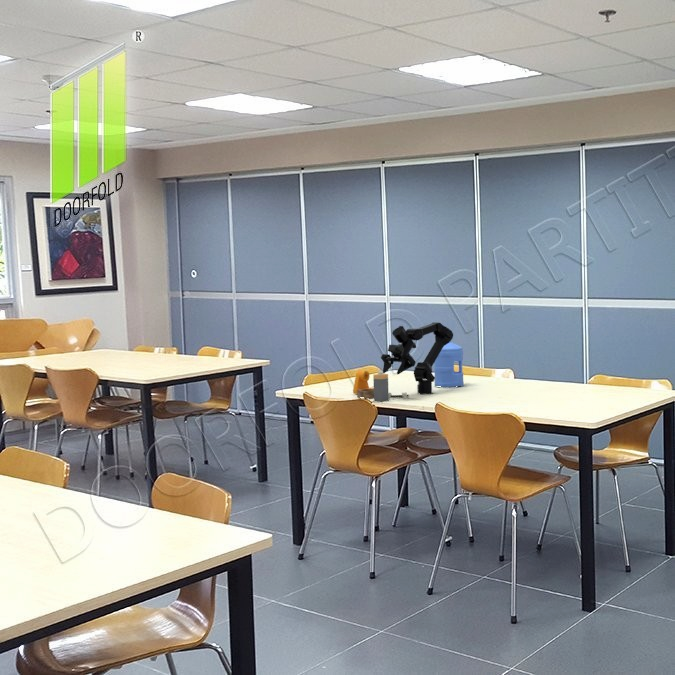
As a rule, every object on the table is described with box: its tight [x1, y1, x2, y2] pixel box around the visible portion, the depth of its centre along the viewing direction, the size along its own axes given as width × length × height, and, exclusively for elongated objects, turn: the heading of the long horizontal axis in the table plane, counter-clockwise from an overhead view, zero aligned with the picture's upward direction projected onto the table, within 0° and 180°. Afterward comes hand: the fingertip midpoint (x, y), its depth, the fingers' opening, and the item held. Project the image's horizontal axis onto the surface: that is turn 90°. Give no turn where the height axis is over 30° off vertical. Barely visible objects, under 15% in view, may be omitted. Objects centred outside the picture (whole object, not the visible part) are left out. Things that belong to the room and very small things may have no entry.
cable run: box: [391, 394, 410, 398], centre depth 459 cm, size 15×2×1 cm, turn 83°
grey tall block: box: [372, 370, 390, 403], centre depth 446 cm, size 5×5×14 cm
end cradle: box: [356, 389, 374, 400], centre depth 460 cm, size 10×10×4 cm
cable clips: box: [389, 392, 408, 398], centre depth 459 cm, size 10×4×2 cm, turn 86°
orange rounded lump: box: [352, 370, 374, 395], centre depth 475 cm, size 11×7×12 cm, turn 141°
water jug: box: [433, 340, 465, 388], centre depth 496 cm, size 16×16×28 cm
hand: (390, 373), depth 450 cm, fingers open, 9 cm apart
